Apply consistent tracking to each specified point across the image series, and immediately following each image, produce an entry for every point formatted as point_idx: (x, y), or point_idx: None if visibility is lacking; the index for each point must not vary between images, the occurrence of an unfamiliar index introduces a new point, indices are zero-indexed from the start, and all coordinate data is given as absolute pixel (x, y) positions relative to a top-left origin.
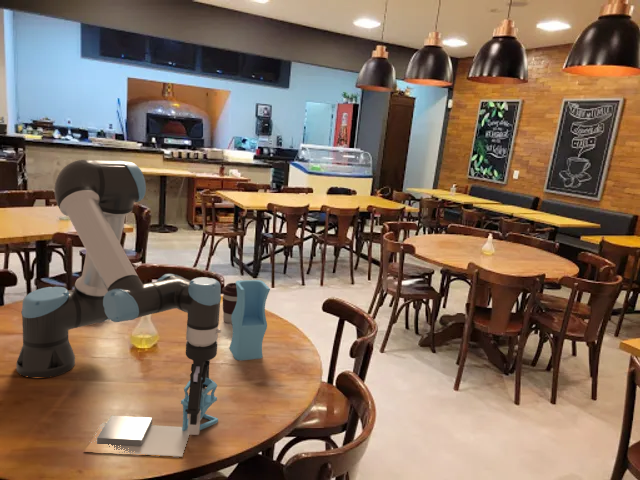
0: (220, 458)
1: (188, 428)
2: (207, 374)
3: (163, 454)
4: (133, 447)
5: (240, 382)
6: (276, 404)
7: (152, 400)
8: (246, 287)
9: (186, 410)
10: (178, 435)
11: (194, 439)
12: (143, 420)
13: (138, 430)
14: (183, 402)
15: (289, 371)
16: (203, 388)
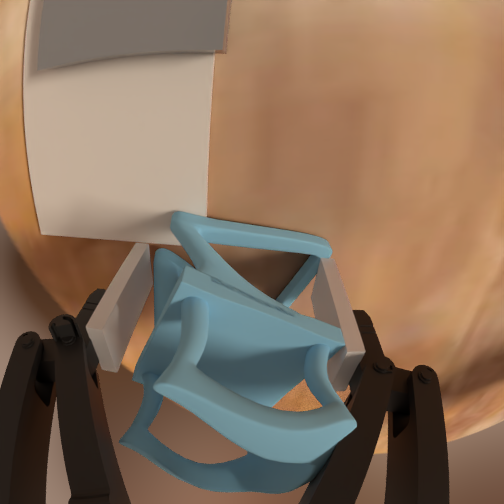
0: None
1: (125, 261)
2: (389, 449)
3: (32, 170)
4: None
5: (470, 354)
6: None
7: (449, 49)
8: None
9: (51, 327)
10: (140, 200)
11: None
12: (191, 11)
13: (99, 22)
14: (173, 292)
15: (457, 419)
16: (346, 378)
